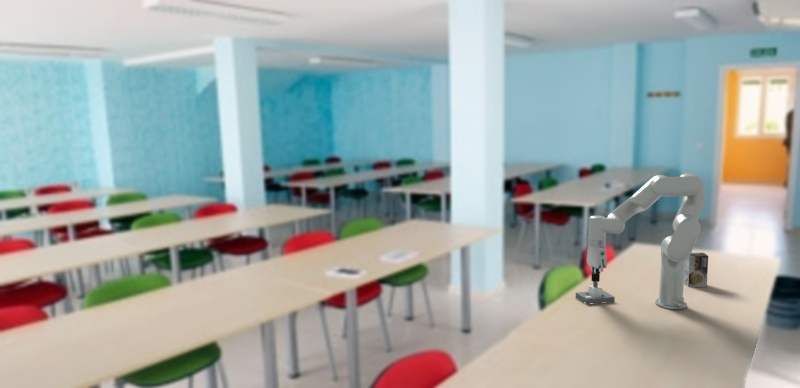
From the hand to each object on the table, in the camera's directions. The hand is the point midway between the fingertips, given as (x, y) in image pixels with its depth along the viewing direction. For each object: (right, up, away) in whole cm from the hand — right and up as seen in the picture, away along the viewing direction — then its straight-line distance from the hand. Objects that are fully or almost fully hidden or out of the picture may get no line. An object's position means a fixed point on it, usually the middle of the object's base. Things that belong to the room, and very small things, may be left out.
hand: (595, 281), depth 264 cm
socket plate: (0, -9, +1) cm, 9 cm away
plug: (0, -9, +1) cm, 9 cm away
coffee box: (+57, -5, +21) cm, 61 cm away
